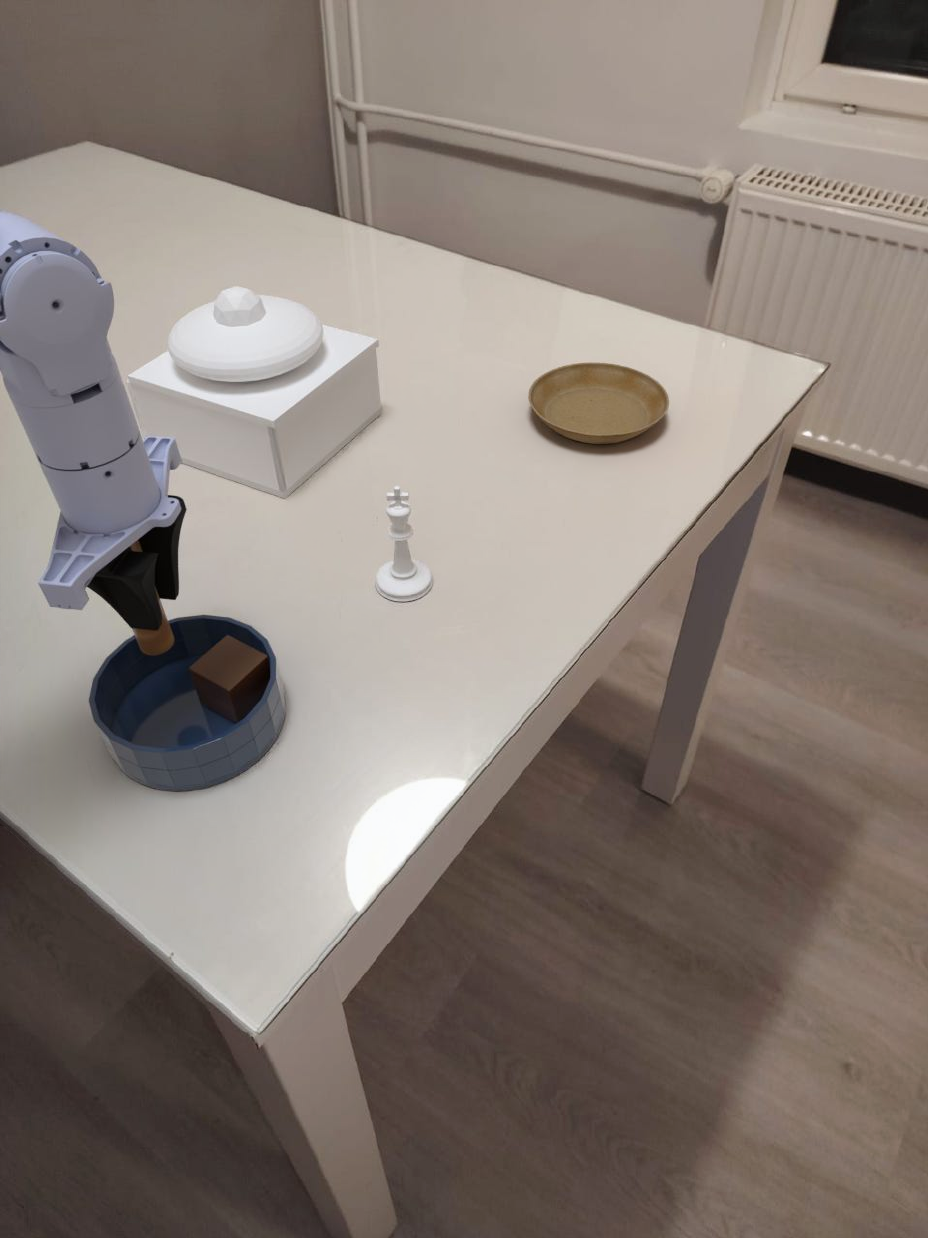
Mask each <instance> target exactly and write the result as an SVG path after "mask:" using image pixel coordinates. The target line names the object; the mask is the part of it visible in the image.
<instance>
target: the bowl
mask: <svg viewBox="0 0 928 1238" xmlns="http://www.w3.org/2000/svg"><path fill="white" fill-rule="evenodd" d="M168 622H169V625H170V628H171V630H172V633H173V636H174V644H173V646H172V647H171V648H170V649H169V650H168V651H167V652H165V653H163V654H160V655H147V654H145V653H143V652H142V651H141V649H140V647H139V645H138V642H137V640H136V637H135V635H134V634H133V635H132V636H130V637H129V638H127V639H125V640H124V641H123V642H122V643H121V644H120V645H119V646H118V647H116V648H115V649H114V650H113V651H111V653H110V654H108V656H106V657H105V659H104V661H103V662H102V664H101V666H100V667H99V668H98V669H97V672H96V673H95V675H94V676H93V679H92V682H91V687H90V693H89V698H88V704H89V708H90V712H91V716H92V720H93V723H94V725H95V727H96V729H97V730H98V733H99V735H100V737H101V739H102V741H103V743H104V745H105V747H106V749H107V752H108V753H109V755H110V757H111V758H112V759H113V760H114V763H115V764H116V765H117V767H118V768H119V769H120V770H121V771H122V772H123V773H124V775H126V776H127V777H129V778H130V779H132V780H133V781H135V782H137V783H139V784H141V785H143V786H146V787H149V788H152V789H156V790H160V791H171V792H189V791H197V790H202V789H205V788H210V787H214V786H216V785H219V784H221V783H225V782H227V781H229V780H231V779H233V778H235V777H237V776H238V775H240V774H242V773H244V772H245V771H247V770H248V769H250V768H251V767H252V766H254V765H255V764H256V763H257V762H258V761H260V760H261V759H262V758H263V757H264V756H265V755H266V754H267V752H268V751H269V750H270V749H271V748H272V746H273V745H274V743H275V742H276V740H277V739H278V736H279V735H280V732H281V730H282V727H283V725H284V721H285V716H286V700H285V699H286V698H285V691H284V690H285V689H284V685H283V681H282V677H281V673H280V669H279V665H278V661H277V657H276V655H275V653H274V651H273V649H272V646H271V644H270V643H269V640H268V639H267V637H265V636H264V635H262V634H261V633H260V632H259V631H258V630H257V629H256V628H254V627H253V626H252V625H250V624H247V623H245V622H242V621H240V620H237V619H234V618H232V617H229V616H220V615H212V614H211V615H210V614H197V615H189V616H180V617H174V618H172V619H168ZM227 635H229V636H231V637H233V638H235V639H236V640H238V641H240V642H242V643H244V644H246V645H248V646H250V647H252V648H254V649H256V650H258V651H259V652H261V653H263V654H265V655H267V656H268V660H269V664H270V681H269V683H268V685H267V688H266V690H265V692H264V695H263V697H262V699H261V700H260V701H259V702H258V704H257V705H256V706H255V707H254V708H253V709H252V710H251V712H250V713H249V714H248V715H247V716H246V717H245V718H244V719H243V720H241V721H240V722H238V723H237V724H235V723H233V722H232V721H230V720H228V719H226V718H225V717H223V716H221V715H219V714H218V713H216V712H214V711H212V710H211V709H209V708H207V707H205V706H204V705H202V704H201V703H200V700H199V697H198V695H197V692H196V689H195V686H194V683H193V680H192V677H191V674H190V671H189V667H190V666H192V665H193V664H194V663H195V662H196V661H197V660H199V659H200V658H201V657H202V656H203V655H204V654H206V653H207V652H208V651H209V650H210V649H211V648H213V647H214V646H215V645H216V644H217V643H218V642H220V641H221V640H222V639H223V638H224V637H225V636H227Z"/></svg>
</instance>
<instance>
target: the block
mask: <svg viewBox="0 0 928 1238" xmlns="http://www.w3.org/2000/svg"><path fill="white" fill-rule="evenodd" d="M189 671H190V674H191V677H192V680H193V683H194V686H195V689H196V692H197V695H198V697H199V700H200V703H201V704H202V705H204V706H205V707H207V708H209V709H211V710H212V711H214V712H216V713H218V714H219V715H221V716H223V717H225V718H226V719H228V720H230V721H232V722H233V723H235V724H237V723H238V722H240V721H241V720H243V719H244V718H245V717H246V716H247V715H248V714H249V713H250V712H251V710H252V709H253V708H254V707H255V706H256V705H257V704H258V702H259V701H260V700H261V699H262V697H263V695H264V692H265V690H266V688H267V685H268V683H269V681H270V664H269V660H268V656H267V655H265V654H263V653H261V652H259V651H258V650H256V649H254V648H252V647H250V646H248V645H246V644H244V643H242V642H240V641H238V640H236V639H235V638H233V637H231V636H229V635H227V636H225V637H224V638H223V639H222V640H221V641H220V642H218V643H217V644H216V645H215V646H214V647H213V648H211V649H210V650H209V651H208V652H207V653H206V654H204V655H203V656H202V657H201V658H200V659H199V660H197V661H196V662H195V663H194V664H193V665H192V666H190V667H189Z"/></svg>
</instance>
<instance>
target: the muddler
mask: <svg viewBox="0 0 928 1238" xmlns="http://www.w3.org/2000/svg"><path fill="white" fill-rule="evenodd" d="M130 546H131V549H132V551H137V552H143V551H142V549H141V546H140V543H139V540H137V541H135V542H134V543H133V544H132V545H130ZM155 589H156V587H155ZM156 594H157V597H158V601H159V605H160V608H161V613H162V624H161V626H160V628H159V630H157V631H153V630H144V629H134V628H131V630H132V632H133V636H134V635H135V637H136V640H137V642H138V645H139V647H140V649H141V651H142V652H143V653H145V654H147V655H160V654H163V653H165V652H167V651H168V650H169V649H170V648H171V647H172V646H173V644H174V636H173V633H172V630H171V628H170V625H169V622H168V620H169V619H168V617H167V615H166V611H165V609H164V606H163V604H162V603H163V602H162V601H161V600H162V599H160V598H159V595H158V592H157V589H156Z"/></svg>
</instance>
